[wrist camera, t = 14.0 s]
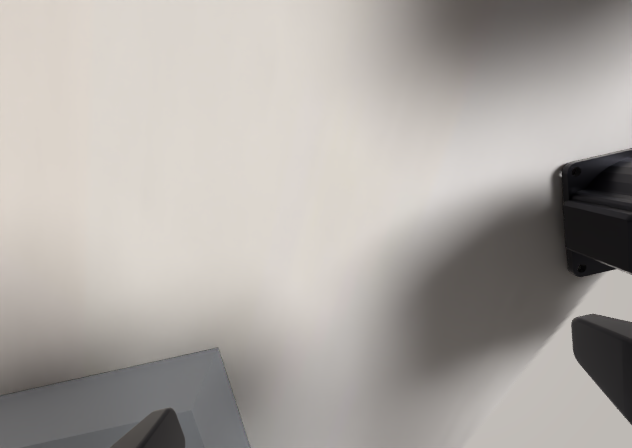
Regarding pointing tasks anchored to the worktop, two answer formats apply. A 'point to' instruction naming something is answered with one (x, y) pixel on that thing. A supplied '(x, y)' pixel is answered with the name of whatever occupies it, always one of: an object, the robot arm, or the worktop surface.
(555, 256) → the worktop surface
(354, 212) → the worktop surface
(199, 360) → the socket block
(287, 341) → the worktop surface
